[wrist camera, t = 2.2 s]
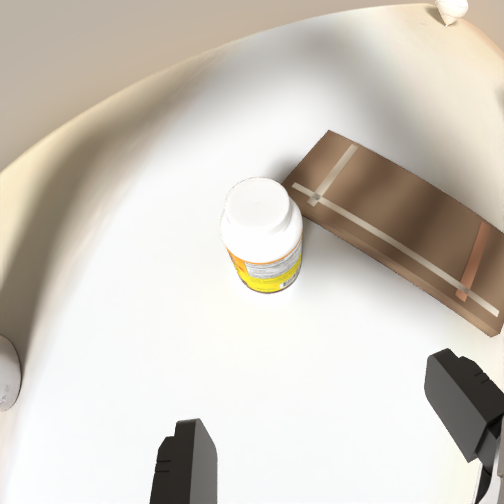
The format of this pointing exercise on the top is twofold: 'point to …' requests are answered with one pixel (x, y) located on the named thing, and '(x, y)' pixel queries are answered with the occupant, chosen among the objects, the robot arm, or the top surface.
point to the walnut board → (404, 226)
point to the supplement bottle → (263, 234)
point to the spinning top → (451, 10)
